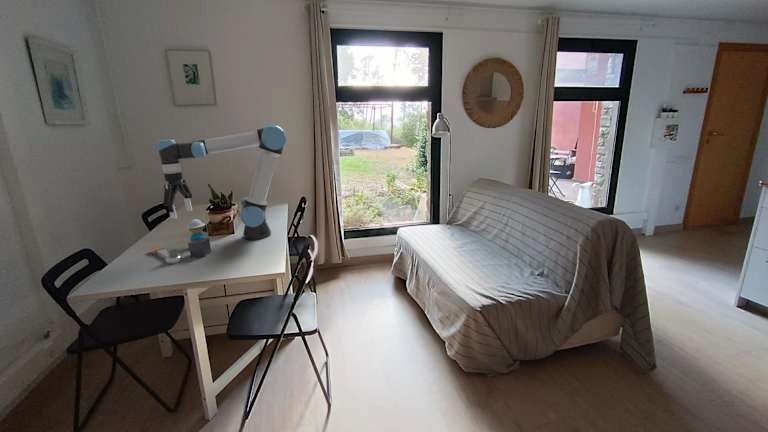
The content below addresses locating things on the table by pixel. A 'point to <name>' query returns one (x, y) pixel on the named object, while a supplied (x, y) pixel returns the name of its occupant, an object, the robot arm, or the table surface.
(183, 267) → the table surface
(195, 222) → the toy
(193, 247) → the dark charcoal cube
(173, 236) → the table surface
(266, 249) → the table surface
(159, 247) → the ratchet
